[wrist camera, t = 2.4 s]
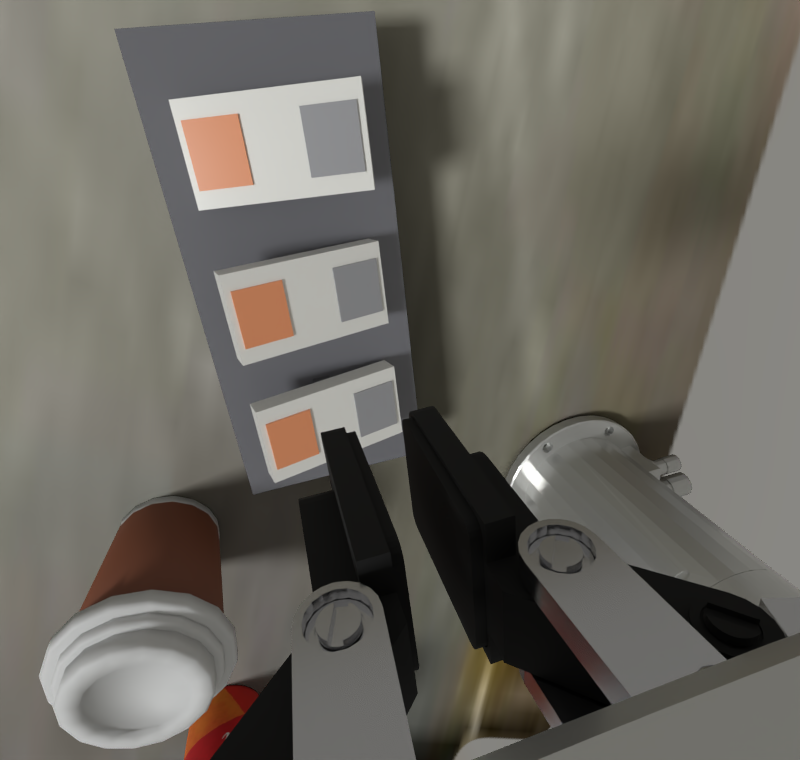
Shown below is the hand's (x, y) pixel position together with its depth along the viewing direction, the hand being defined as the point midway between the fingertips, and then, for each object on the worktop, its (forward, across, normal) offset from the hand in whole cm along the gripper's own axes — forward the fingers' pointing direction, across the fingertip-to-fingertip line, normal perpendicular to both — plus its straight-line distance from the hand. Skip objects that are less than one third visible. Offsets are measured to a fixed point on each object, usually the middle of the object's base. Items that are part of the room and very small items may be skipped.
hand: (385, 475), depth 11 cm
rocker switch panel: (+21, 0, 0) cm, 21 cm away
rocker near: (+16, 0, -7) cm, 17 cm away
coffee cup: (+21, +12, +16) cm, 29 cm away
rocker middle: (+16, 0, 0) cm, 16 cm away
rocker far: (+16, 0, +7) cm, 17 cm away
